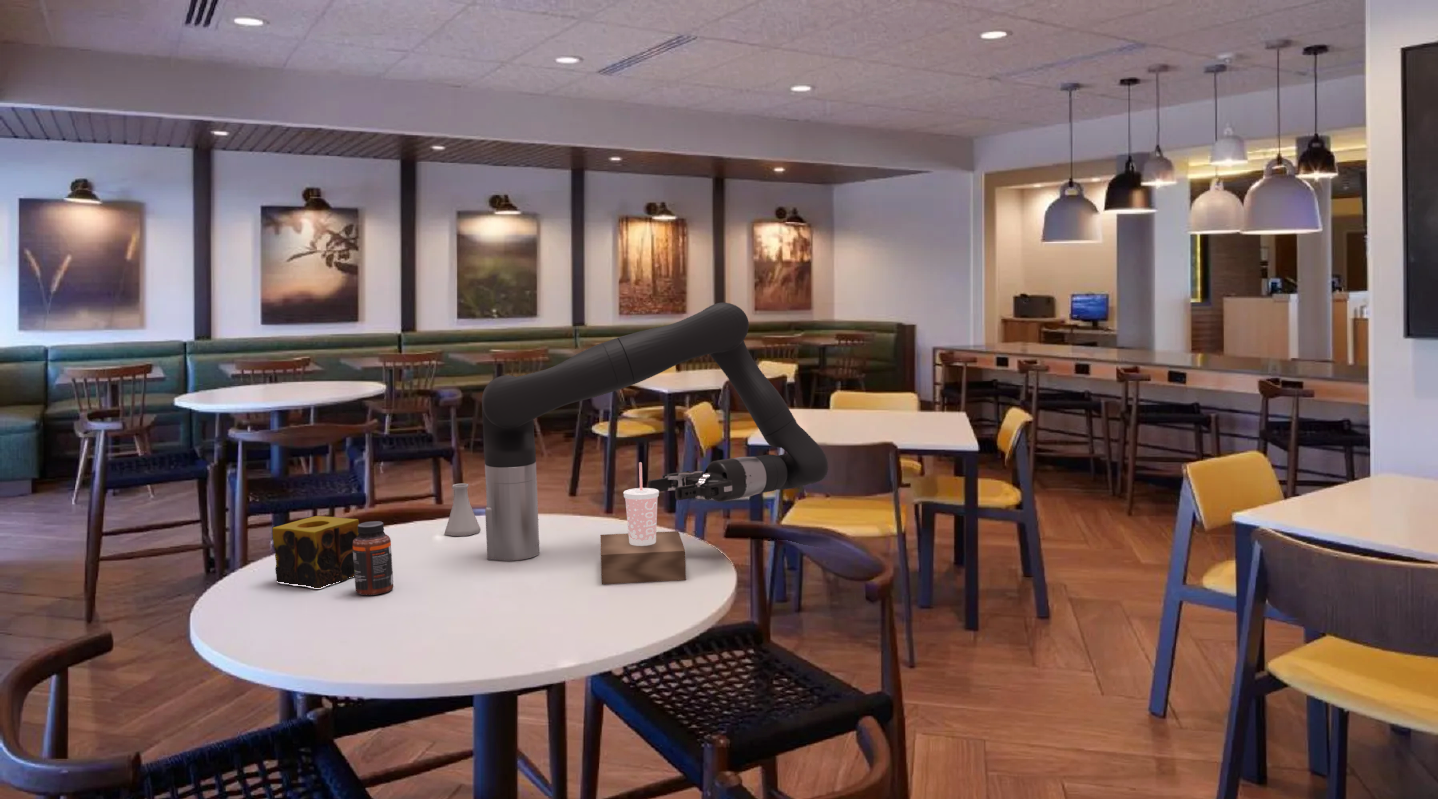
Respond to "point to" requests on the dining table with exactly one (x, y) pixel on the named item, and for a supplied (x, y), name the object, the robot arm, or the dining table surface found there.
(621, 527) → the dining table surface
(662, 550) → the walnut riser block
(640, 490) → the beverage cup
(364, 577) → the supplement bottle
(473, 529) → the flask
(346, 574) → the yellow tissue box cover
